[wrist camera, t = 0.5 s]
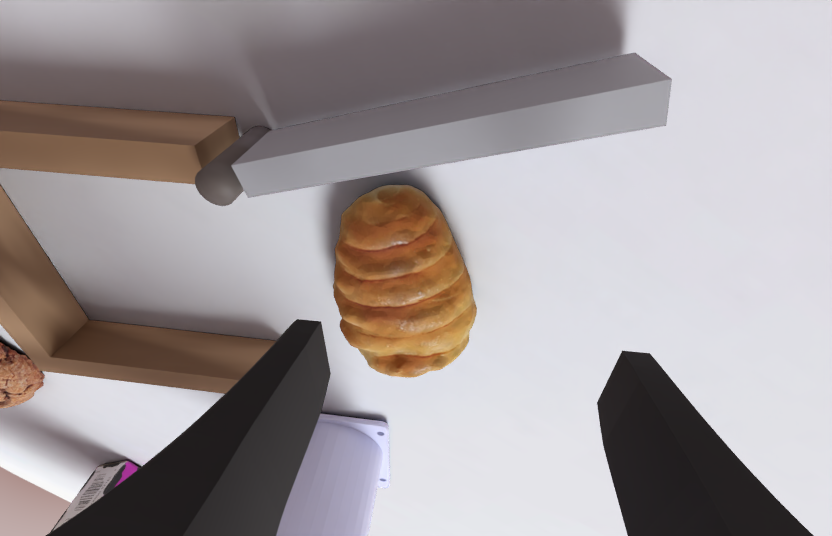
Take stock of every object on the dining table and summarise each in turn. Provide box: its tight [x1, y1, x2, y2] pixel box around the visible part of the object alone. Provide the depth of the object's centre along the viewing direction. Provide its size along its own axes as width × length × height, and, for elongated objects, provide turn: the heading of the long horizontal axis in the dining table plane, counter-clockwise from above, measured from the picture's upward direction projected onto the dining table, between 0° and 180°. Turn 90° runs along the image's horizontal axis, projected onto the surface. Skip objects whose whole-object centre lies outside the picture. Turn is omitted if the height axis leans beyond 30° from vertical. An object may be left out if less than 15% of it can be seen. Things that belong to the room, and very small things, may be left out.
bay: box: [0, 101, 276, 394], centre depth 20 cm, size 15×16×4 cm
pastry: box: [333, 185, 477, 377], centre depth 19 cm, size 9×7×4 cm
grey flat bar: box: [231, 53, 672, 198], centre depth 14 cm, size 13×1×3 cm, turn 103°
